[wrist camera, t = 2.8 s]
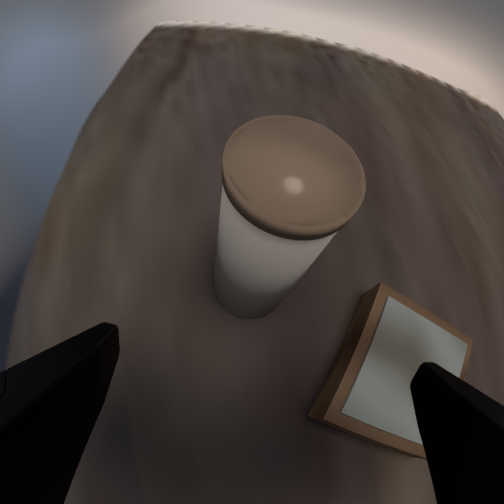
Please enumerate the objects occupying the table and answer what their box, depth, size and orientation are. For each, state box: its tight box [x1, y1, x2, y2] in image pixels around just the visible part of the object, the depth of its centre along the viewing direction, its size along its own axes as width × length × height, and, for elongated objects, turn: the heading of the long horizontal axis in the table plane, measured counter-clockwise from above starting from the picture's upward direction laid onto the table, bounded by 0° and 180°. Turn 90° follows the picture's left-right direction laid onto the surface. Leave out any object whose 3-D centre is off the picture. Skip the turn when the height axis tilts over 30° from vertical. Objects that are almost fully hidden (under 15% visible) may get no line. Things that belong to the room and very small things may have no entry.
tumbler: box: [214, 115, 366, 319], centre depth 16 cm, size 5×5×13 cm
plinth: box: [308, 282, 473, 459], centre depth 19 cm, size 10×10×3 cm
